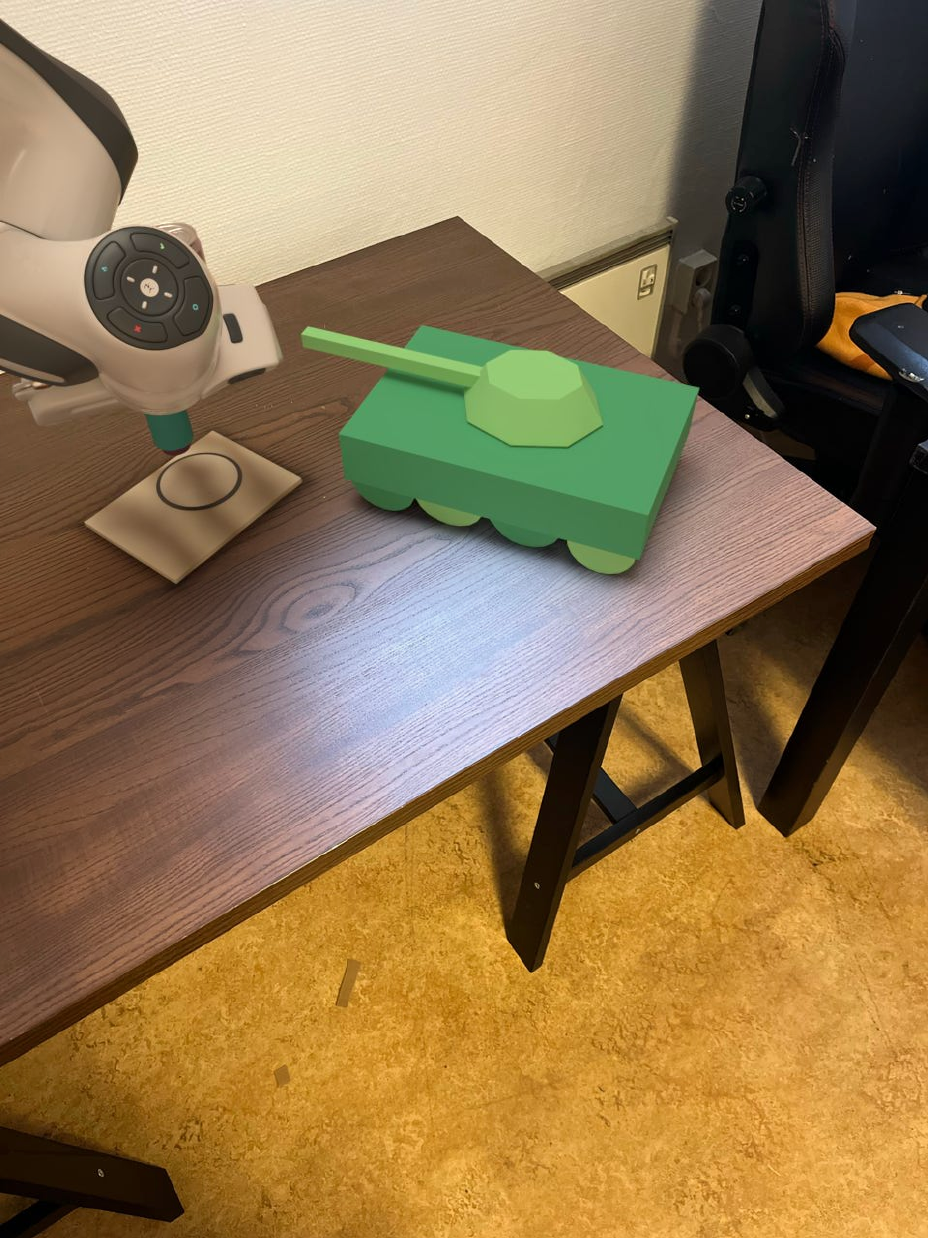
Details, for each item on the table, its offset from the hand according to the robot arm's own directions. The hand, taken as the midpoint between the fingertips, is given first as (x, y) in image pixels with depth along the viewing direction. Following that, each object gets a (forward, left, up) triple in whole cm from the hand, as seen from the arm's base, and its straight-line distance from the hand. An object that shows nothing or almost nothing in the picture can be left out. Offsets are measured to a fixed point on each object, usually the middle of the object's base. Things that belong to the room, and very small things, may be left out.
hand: (158, 387), depth 82 cm
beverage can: (+13, +11, -10) cm, 20 cm away
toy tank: (+17, -23, -10) cm, 30 cm away
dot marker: (-1, -1, -6) cm, 6 cm away
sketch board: (-2, -4, -10) cm, 11 cm away
